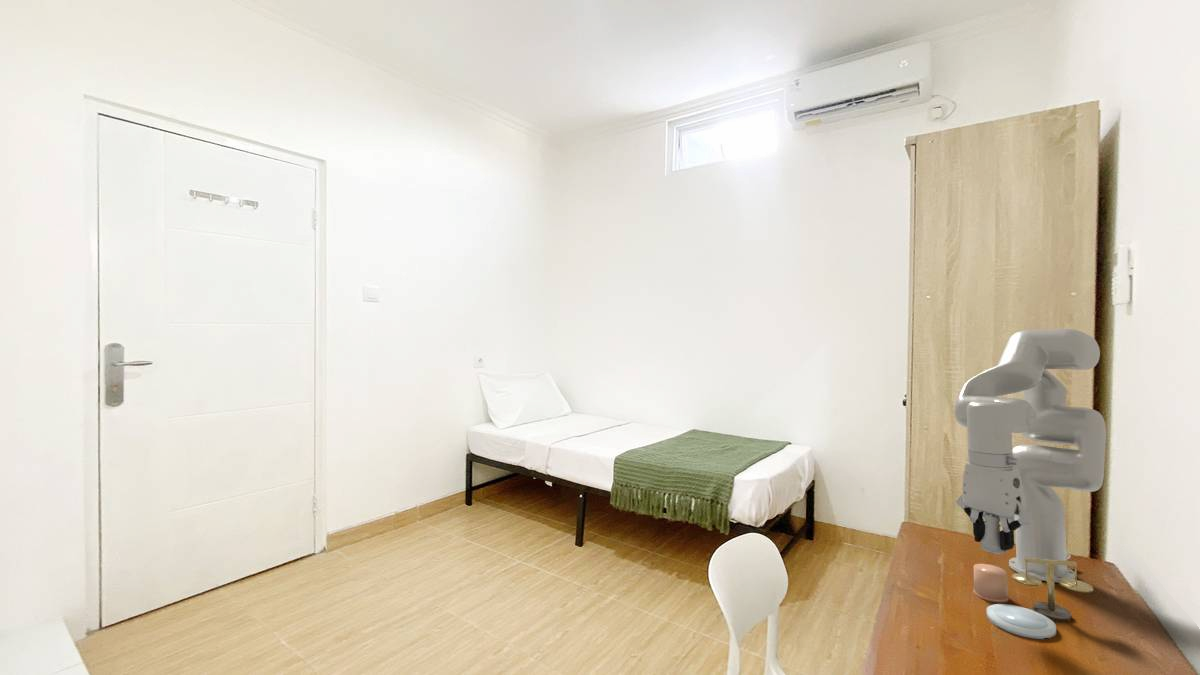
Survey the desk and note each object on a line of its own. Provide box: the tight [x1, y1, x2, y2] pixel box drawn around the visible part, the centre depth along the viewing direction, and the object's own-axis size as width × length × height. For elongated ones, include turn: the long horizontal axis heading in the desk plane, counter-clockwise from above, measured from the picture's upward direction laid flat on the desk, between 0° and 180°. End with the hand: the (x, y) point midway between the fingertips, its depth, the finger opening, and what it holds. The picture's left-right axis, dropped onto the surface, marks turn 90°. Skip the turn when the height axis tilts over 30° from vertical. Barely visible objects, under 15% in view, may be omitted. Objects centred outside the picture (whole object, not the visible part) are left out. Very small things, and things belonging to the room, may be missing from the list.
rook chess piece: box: [980, 512, 1008, 555], centre depth 108 cm, size 4×4×8 cm
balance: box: [1011, 558, 1094, 622], centre depth 107 cm, size 6×14×12 cm, turn 25°
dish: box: [986, 603, 1057, 640], centre depth 104 cm, size 11×11×1 cm
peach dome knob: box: [972, 563, 1010, 604], centre depth 116 cm, size 6×6×6 cm
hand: (993, 543), depth 108 cm, fingers closed on rook chess piece, 4 cm apart
